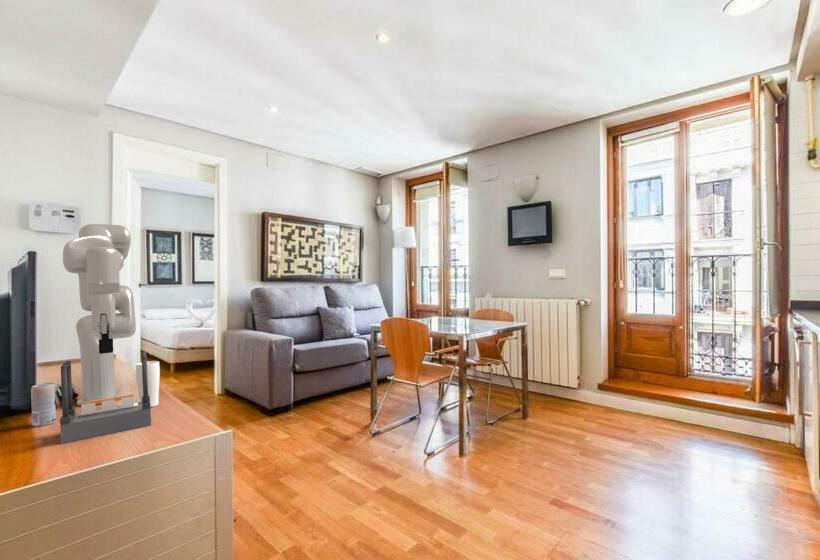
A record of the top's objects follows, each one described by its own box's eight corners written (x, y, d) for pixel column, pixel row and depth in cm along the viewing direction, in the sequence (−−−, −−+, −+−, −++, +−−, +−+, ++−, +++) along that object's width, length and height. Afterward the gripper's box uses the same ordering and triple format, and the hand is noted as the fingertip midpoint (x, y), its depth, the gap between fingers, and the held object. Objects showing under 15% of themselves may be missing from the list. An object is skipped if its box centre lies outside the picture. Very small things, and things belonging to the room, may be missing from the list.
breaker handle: (77, 416, 111) (77, 402, 111) (138, 405, 119) (137, 393, 119) (77, 417, 110) (76, 404, 110) (138, 406, 118) (137, 394, 118)
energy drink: (53, 419, 125) (51, 382, 125) (58, 422, 122) (56, 384, 122) (30, 425, 121) (28, 386, 121) (34, 428, 117) (33, 388, 117)
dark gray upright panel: (66, 414, 113) (64, 360, 113) (75, 413, 114) (73, 359, 114) (60, 425, 104) (57, 366, 104) (70, 423, 106) (67, 365, 106)
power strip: (66, 432, 113) (66, 415, 113) (150, 416, 124) (149, 400, 124) (61, 443, 105) (60, 425, 105) (151, 425, 116) (150, 408, 116)
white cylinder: (135, 411, 130) (133, 365, 130) (140, 405, 137) (138, 362, 137) (159, 407, 133) (157, 363, 133) (162, 402, 139) (161, 360, 139)
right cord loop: (142, 401, 123) (140, 351, 123) (149, 400, 124) (147, 351, 124) (142, 410, 115) (140, 356, 115) (150, 408, 116) (148, 355, 116)
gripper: (89, 290, 118) (92, 350, 119) (84, 291, 106) (86, 358, 106) (120, 289, 123) (123, 347, 123) (118, 289, 110) (121, 354, 111)
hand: (106, 352), depth 115 cm, fingers closed
